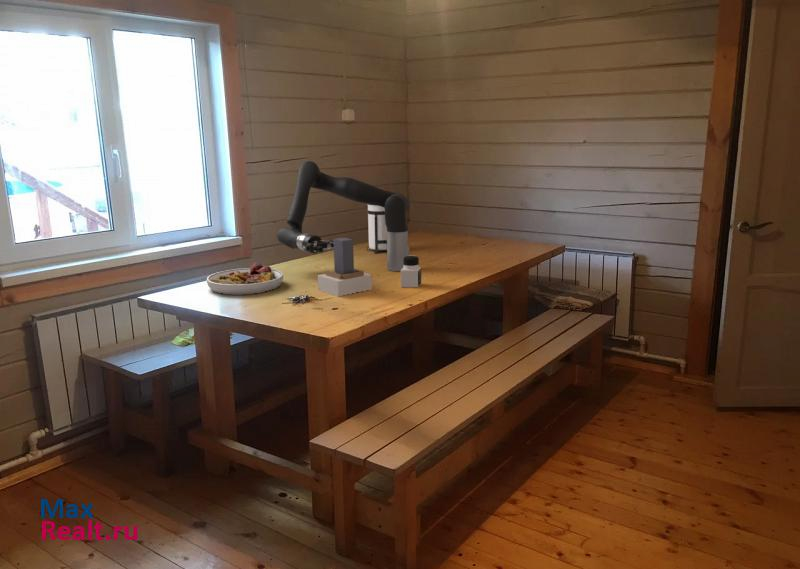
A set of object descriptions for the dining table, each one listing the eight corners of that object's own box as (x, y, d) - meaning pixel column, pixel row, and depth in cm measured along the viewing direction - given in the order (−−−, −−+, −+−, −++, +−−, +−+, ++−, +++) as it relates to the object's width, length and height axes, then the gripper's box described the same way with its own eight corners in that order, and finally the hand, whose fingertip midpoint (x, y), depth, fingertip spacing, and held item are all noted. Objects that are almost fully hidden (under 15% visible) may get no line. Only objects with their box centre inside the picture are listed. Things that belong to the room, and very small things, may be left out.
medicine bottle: (418, 287, 266) (418, 258, 263) (400, 287, 267) (400, 257, 264) (421, 283, 273) (421, 254, 270) (404, 283, 274) (403, 254, 271)
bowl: (268, 298, 254) (267, 278, 252) (194, 296, 259) (192, 276, 257) (293, 280, 283) (292, 262, 281) (226, 278, 288) (224, 260, 286)
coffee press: (360, 253, 337) (358, 193, 330) (373, 247, 351) (372, 189, 344) (391, 255, 330) (390, 194, 323) (404, 249, 345) (403, 190, 338)
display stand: (351, 283, 274) (350, 265, 273) (372, 289, 264) (371, 270, 262) (318, 290, 265) (317, 271, 263) (338, 296, 254) (337, 277, 252)
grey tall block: (345, 272, 266) (344, 237, 263) (354, 274, 262) (353, 239, 259) (334, 274, 263) (333, 239, 260) (343, 276, 259) (342, 241, 256)
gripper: (294, 236, 274) (315, 241, 262) (323, 232, 283) (345, 236, 271) (295, 254, 276) (316, 260, 264) (324, 249, 284) (346, 255, 272)
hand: (331, 248), depth 267 cm, fingers open, 8 cm apart
